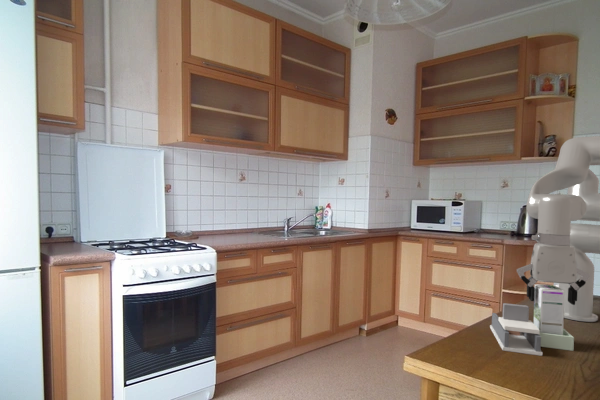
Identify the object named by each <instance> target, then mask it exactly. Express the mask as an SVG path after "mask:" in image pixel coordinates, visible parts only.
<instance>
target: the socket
mask: <svg viewBox="0 0 600 400" xmlns="http://www.w3.org/2000/svg"><path fill="white" fill-rule="evenodd" d="M539 335H540V336H541V347H542V348H550V349H558V350H564V351H571V352H572V351H574V350H575V349H574V347H575V346H574V345H575V344H574V343H575V337H574V336H573V335H572V334H571V333H570V332H568V330H566V329H565V328H564V327H563V335H555V334H547V333H540V334H539Z"/></svg>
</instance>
